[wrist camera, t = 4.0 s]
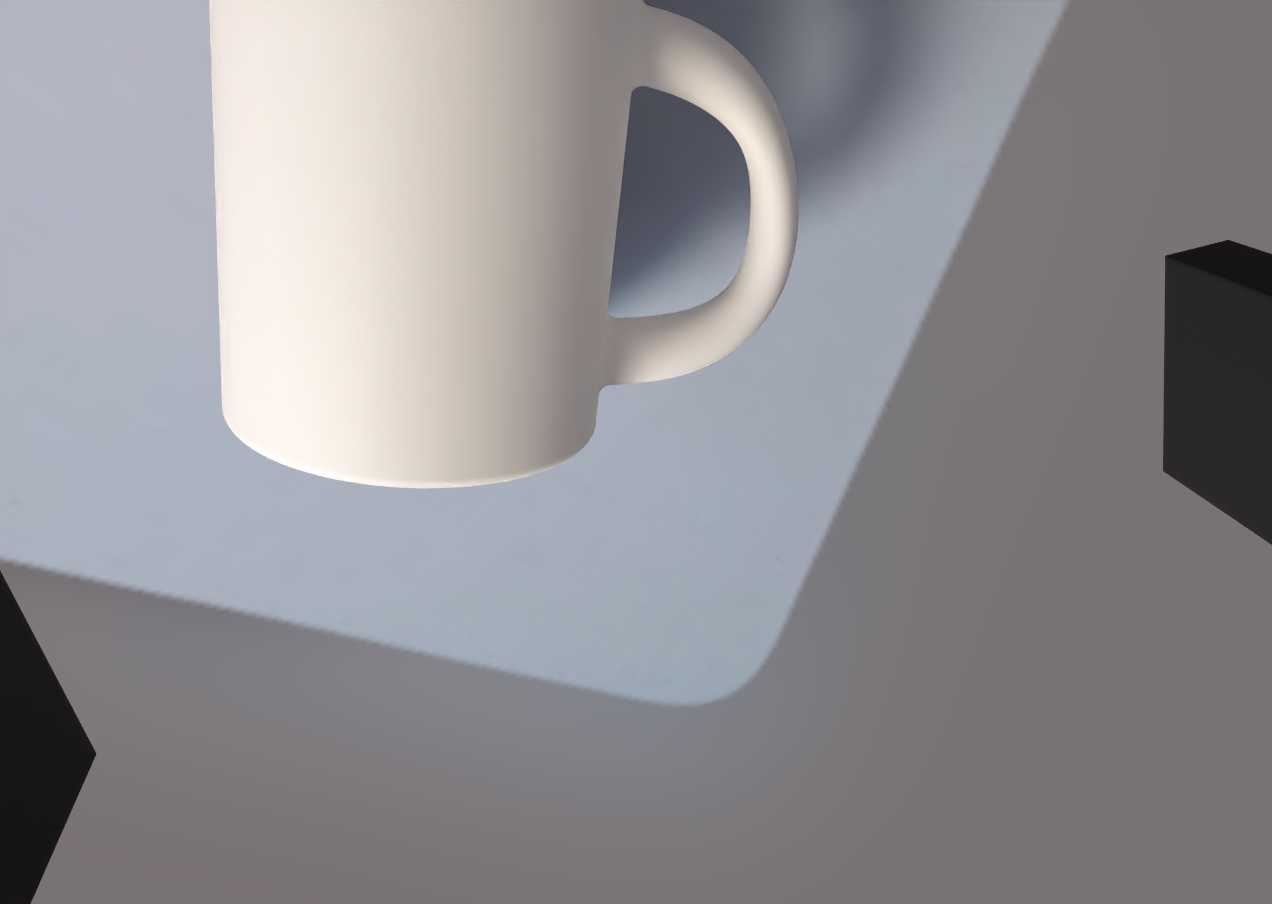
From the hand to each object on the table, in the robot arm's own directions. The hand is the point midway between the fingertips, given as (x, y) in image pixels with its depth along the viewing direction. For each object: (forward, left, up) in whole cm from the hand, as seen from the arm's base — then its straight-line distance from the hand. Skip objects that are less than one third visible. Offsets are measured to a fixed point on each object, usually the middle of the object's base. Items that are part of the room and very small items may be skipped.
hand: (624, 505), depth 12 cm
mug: (0, -1, -16) cm, 16 cm away
